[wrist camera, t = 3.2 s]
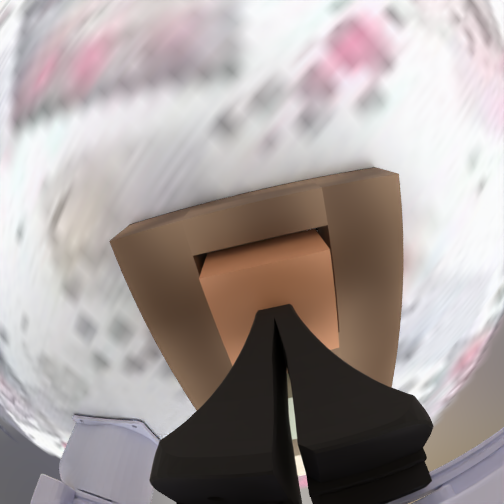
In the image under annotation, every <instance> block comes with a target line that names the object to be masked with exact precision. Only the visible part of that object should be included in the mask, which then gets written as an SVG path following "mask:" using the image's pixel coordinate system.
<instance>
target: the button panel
mask: <svg viewBox="0 0 504 504" xmlns="http://www.w3.org/2000/svg"><path fill="white" fill-rule="evenodd" d="M313 228H318V234H319V235H320V236H321V238H322V239H323V241H324V242H325V243H326V245H327V246H328V247H329V249H330V254H331V262H332V270H333V279H334V288H335V298H336V309H337V321H338V334H339V348H336V349H332V350H331V351H332V352H333V353H334V354H336V355H337V356H338V357H339V358H341V359H342V360H343V361H345V362H346V363H348V364H349V365H351V366H352V367H353V368H355V369H357V370H358V371H360V372H362V373H364V374H365V375H367V376H369V377H371V378H372V379H374V380H376V381H378V382H380V383H382V384H384V385H387V386H389V387H392V381H393V375H394V369H395V363H396V356H397V348H398V340H399V331H400V320H401V308H402V290H403V223H402V205H401V193H400V182H399V174H397V173H394V172H390V171H387V170H383V169H379V168H375V167H374V168H368V169H362V170H356V171H350V172H345V173H339V174H334V175H328V176H323V177H318V178H313V179H308V180H303V181H298V182H293V183H288V184H284V185H279V186H274V187H270V188H265V189H261V190H257V191H252V192H248V193H244V194H240V195H236V196H232V197H228V198H224V199H220V200H216V201H212V202H208V203H204V204H200V205H197V206H193V207H189V208H185V209H182V210H178V211H175V212H171V213H168V214H164V215H161V216H157V217H154V218H150V219H147V220H144V221H140V222H137V223H134V224H131V225H129V226H128V227H126V228H125V229H124V230H123V231H121V232H120V233H119V234H118V235H116V236H115V237H114V238H113V239H112V240H110V244H111V246H112V249H113V251H114V254H115V256H116V259H117V261H118V264H119V266H120V268H121V271H122V273H123V275H124V278H125V280H126V282H127V285H128V287H129V289H130V291H131V293H132V296H133V298H134V300H135V302H136V304H137V306H138V308H139V310H140V312H141V314H142V317H143V319H144V321H145V323H146V324H147V326H148V328H149V330H150V332H151V334H152V336H153V338H154V340H155V342H156V344H157V345H158V347H159V349H160V351H161V353H162V355H163V356H164V358H165V360H166V362H167V363H168V365H169V367H170V369H171V370H172V372H173V374H174V375H175V377H176V379H177V380H178V382H179V384H180V385H181V387H182V388H183V390H184V392H185V393H186V395H187V396H188V398H189V399H190V401H191V403H192V404H193V406H194V407H195V409H196V410H198V409H199V408H200V407H201V406H202V405H203V404H204V403H205V402H206V401H207V400H208V399H209V398H210V397H211V395H212V394H213V393H214V392H215V390H216V389H217V388H218V387H219V385H220V384H221V383H222V381H223V380H224V378H225V377H226V376H227V374H228V373H229V371H230V370H231V368H232V364H231V361H230V359H229V356H228V354H227V351H226V349H225V346H224V344H223V341H222V339H221V336H220V334H219V331H218V329H217V326H216V323H215V321H214V318H213V316H212V313H211V310H210V308H209V305H208V302H207V300H206V297H205V294H204V291H203V289H202V286H201V283H200V280H199V277H200V274H201V271H202V268H203V265H204V262H205V259H206V256H207V252H211V251H216V250H220V249H224V248H229V247H233V246H237V245H242V244H246V243H250V242H255V241H259V240H264V239H268V238H272V237H277V236H281V235H286V234H290V233H295V232H299V231H304V230H308V229H313ZM287 374H288V370H287Z"/></svg>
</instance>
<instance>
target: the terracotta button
mask: <svg viewBox="0 0 504 504" xmlns="http://www.w3.org/2000/svg"><path fill="white" fill-rule="evenodd" d="M199 280H200V283H201V286H202V289H203V291H204V294H205V297H206V300H207V302H208V305H209V308H210V310H211V313H212V316H213V318H214V321H215V323H216V326H217V329H218V331H219V334H220V336H221V339H222V341H223V344H224V346H225V349H226V351H227V354H228V356H229V359H230V361H231V364H232V366H233V365H234V363H235V361H236V359H237V357H238V356H239V354H240V352H241V350H242V348H243V346H244V344H245V341H246V339H247V337H248V335H249V332H250V330H251V327H252V324H253V321H254V318H255V315H256V313H257V311H258V310H263V309H267V308H272V307H277V306H281V305H286V304H291V305H292V306H293V308H294V310H295V311H296V313H297V314H298V316H299V317H300V319H301V320H302V321H303V323H304V324H305V325H306V326H307V327H308V328H309V330H310V331H311V332H312V333H313V334H314V335H315V336H316V337H317V338H318V339H319V340H320V341H321V342H322V343H323V344H324V345H325V346H326V347H327V348H328V349H330V350H332V349H336V348H339V334H338V321H337V309H336V298H335V288H334V279H333V270H332V262H331V254H330V249H329V247H328V246H327V245H326V243H325V242H324V241H323V239H322V238H321V236H320V235H319V234H318V232H317V231H316V230H315V229H312V230H307V231H303V232H298V233H294V234H289V235H285V236H281V237H276V238H272V239H267V240H263V241H258V242H254V243H250V244H245V245H241V246H237V247H232V248H228V249H224V250H219V251H215V252H211V253H207V256H206V259H205V262H204V265H203V268H202V271H201V274H200V277H199Z"/></svg>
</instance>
